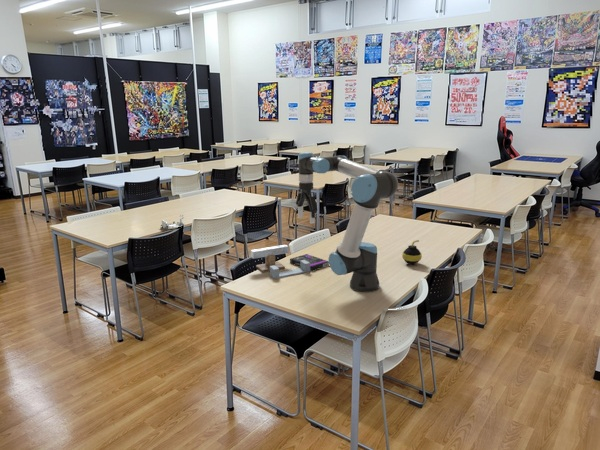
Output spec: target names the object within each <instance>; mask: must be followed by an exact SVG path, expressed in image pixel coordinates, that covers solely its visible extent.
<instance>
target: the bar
mask: <svg viewBox="0 0 600 450" xmlns="http://www.w3.org/2000/svg"><path fill="white" fill-rule="evenodd" d="M289 250H290V249H289V245H287V244H282V245H281V244H280V245H274V246H269V247H262V248H256V249H251V250H250V258H252V259H260V258H265V257H267V256H273V255H274V256H277V255H284V254H289V253H290V252H289Z"/></svg>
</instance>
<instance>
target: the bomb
mask: <svg viewBox="0 0 600 450" xmlns="http://www.w3.org/2000/svg"><path fill="white" fill-rule="evenodd" d="M417 242H420V240H419V239H417V240H414V241H412V243H411V245H408V247H407V248H405V250H404V251H403V252H402V254H401V255H402V259H403V260H404V262H405V263H407V265H416V264H418V263H419V262H420V261H421V260H422V257H423V256H422V255H423V254H422V252H421V251H420V250H419V249H418V248H417V245H414V244H415V243H417Z"/></svg>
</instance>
